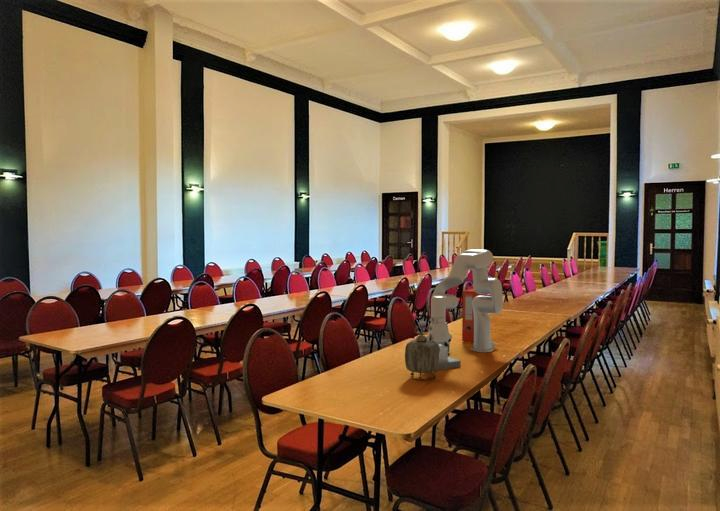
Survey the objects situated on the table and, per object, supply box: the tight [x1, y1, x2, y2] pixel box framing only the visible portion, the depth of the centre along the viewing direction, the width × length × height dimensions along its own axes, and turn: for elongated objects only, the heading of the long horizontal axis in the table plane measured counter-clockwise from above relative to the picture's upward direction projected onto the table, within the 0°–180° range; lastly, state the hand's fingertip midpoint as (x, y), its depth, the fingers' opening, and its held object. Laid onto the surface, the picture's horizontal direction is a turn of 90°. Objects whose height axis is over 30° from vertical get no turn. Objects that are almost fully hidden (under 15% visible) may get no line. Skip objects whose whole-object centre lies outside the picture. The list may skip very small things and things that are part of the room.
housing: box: [437, 343, 449, 361], centre depth 271 cm, size 9×5×8 cm, turn 29°
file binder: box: [461, 288, 487, 344], centre depth 329 cm, size 8×17×32 cm, turn 142°
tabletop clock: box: [404, 325, 439, 381], centre depth 246 cm, size 14×9×25 cm, turn 66°
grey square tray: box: [434, 356, 461, 371], centre depth 271 cm, size 16×16×3 cm
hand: (438, 352), depth 271 cm, fingers open, 9 cm apart
